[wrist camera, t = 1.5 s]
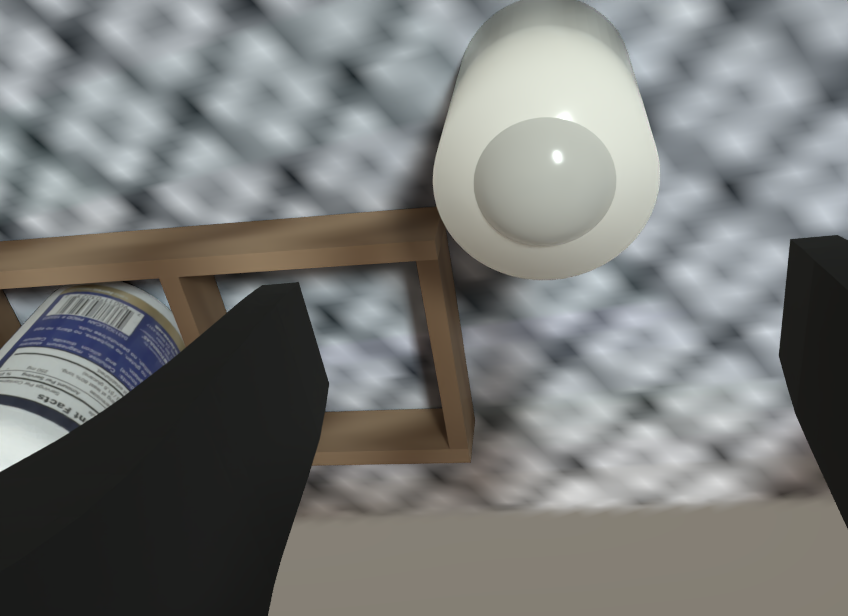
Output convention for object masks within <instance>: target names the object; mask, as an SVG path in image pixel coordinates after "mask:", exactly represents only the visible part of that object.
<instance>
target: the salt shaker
mask: <svg viewBox="0 0 848 616" xmlns="http://www.w3.org/2000/svg"><path fill="white" fill-rule="evenodd" d="M659 182H660V165H659V158H658V153H657V149H656V145H655V142H654V138H653V135H652V132H651V128H650V125H649V121H648V118H647V115H646V111H645V108H644V105H643V101H642V98H641V95H640V91H639V88H638V84H637V81H636V78H635V74H634V71H633V68H632V64H631V61H630V57H629V54H628V51H627V49H626V46H625V43H624V41H623V39H622V38H621V36H620V34H619V32H618V31H617V30H616V28H615V27H614V26H613V24H612V23H611V22H610V21H609V20H608V19H607V18H606V17H605V16H604V15H602V14H601V13H600V12H598V11H597V10H596V9H594V8H592V7H591V6H589V5H587V4H585V3H583V2H580V1H577V0H520V1H517V2H514V3H512V4H510V5H508V6H506V7H504V8H503V9H501V10H500V11H498V12H497V13H495V14H494V15H493V16H491V17H490V18H489V19H488V20H487V21H486V22H485V23H484V24H483V25H482V26H481V27H480V28H479V29H478V31H477V32H476V33H475V35H474V36H473V38H472V39H471V41H470V43H469V45H468V47H467V49H466V51H465V54H464V57H463V60H462V63H461V67H460V70H459V74H458V77H457V81H456V85H455V88H454V92H453V96H452V99H451V103H450V106H449V110H448V114H447V117H446V121H445V124H444V128H443V132H442V135H441V139H440V143H439V146H438V150H437V153H436V158H435V163H434V168H433V190H434V197H435V201H436V206H437V209H438V211H439V214H440V217H441V219H442V221H443V223H444V225H445V227H446V228H447V230H448V232H449V233H450V234H451V236H452V237H453V238H454V240H455V241H456V242H457V243H458V244H459V245H460V246H461V247H462V248H463V249H464V250H465V251H466V252H467V253H468V254H469V255H471V256H472V257H473V258H474V259H476V260H477V261H479V262H481V263H482V264H484V265H485V266H487V267H490V268H492V269H494V270H496V271H498V272H501V273H504V274H507V275H510V276H514V277H519V278H523V279H532V280H555V279H563V278H568V277H573V276H577V275H580V274H583V273H586V272H589V271H592V270H594V269H596V268H598V267H600V266H602V265H604V264H606V263H607V262H609V261H610V260H612V259H613V258H615V257H616V256H618V255H619V254H620V253H621V252H623V251H624V250H625V249H626V248H627V247H628V246H629V245H630V244H631V243H632V242H633V241H634V240H635V239H636V238H637V236H638V235H639V234H640V232H641V231H642V230H643V228H644V227H645V225H646V223H647V221H648V219H649V218H650V216H651V214H652V211H653V208H654V206H655V203H656V199H657V195H658V191H659Z"/></svg>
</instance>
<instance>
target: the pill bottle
mask: <svg viewBox="0 0 848 616" xmlns="http://www.w3.org/2000/svg"><path fill="white" fill-rule="evenodd" d="M185 348H186V347H185V344H184V341H183V339H182V336H181V334H180V331H179V329H178V326H177V323H176V321H175V318H174V316H173V313H172V311H171V310H170V309H169V308H167V307H166V306H165V305H164V304H163V303H162V302H160V301H159V300H158V299H156V298H155V297H153V296H152V295H150V294H149V293H147V292H145V291H143V290H141V289H139V288H137V287H135V286H132V285H129V284H127V283H124V282H120V281H112V282H98V283H83V284H68V285H64V286H63V287H61V288H59V289H58V290H56V291H55V292H54V293H53V294H51V295H50V296H49V297H48V298H47V299H46V300H45V301H44V302H43V304H42V305H41V306H39V307H38V308H37V309H36V311H35V312H34V313H33V314H32V315H31V316H30V317H29V318H28V319H27V320H26V322H25V323H24V324H23V325H22V326H21V327H20V328H19V329H18V330H17V331H16V333H15V334H14V335H13V336H12V337H11V338H10V339H9V340H8V341H7V342H6V343H5V345H4V346H3V347H2V348H1V349H0V472H1V471H2V470H4V469H6V468H8V467H10V466H11V465H13V464H15V463H17V462H19V461H21V460H22V459H24V458H26V457H28V456H30V455H31V454H33V453H35V452H37V451H39V450H40V449H42V448H44V447H46V446H48V445H49V444H51V443H53V442H55V441H56V440H58V439H60V438H61V437H63V436H65V435H66V434H68V433H69V432H71V431H72V430H74V429H76V428H77V427H79V426H80V425H82V424H83V423H85V422H86V421H88V420H90V419H91V418H93V417H94V416H96V415H97V414H99V413H100V412H102V411H103V410H105V409H106V408H108V407H109V406H110V405H112V404H113V403H115V402H116V401H118V400H119V399H120V398H122V397H123V396H125V395H126V394H127V393H129V392H130V391H131V390H132V389H134V388H135V387H136V386H138V385H139V384H140V383H141V382H143V381H144V380H145V379H147V378H148V377H149V376H151V375H152V374H153V373H154V372H156V371H157V370H158V369H160V368H161V367H162V366H163V365H165V364H166V363H167V362H169V361H170V360H171V359H172V358H174V357H175V356H176V355H177V354H179V353H180V352H181V351H182V350H183V349H185Z"/></svg>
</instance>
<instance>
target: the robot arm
mask: <svg viewBox="0 0 848 616" xmlns="http://www.w3.org/2000/svg"><path fill="white" fill-rule="evenodd" d="M779 358H780V362H781V365H782V369H783V373H784V376H785V380H786V384H787V387H788V391H789V394H790V397H791V401H792V404H793V407H794V410H795V414H796V416H797V419H798V421H799V423H800V425H801V428H802V430H803V432H804V434H805V437H806V439H807V441H808V443H809V446H810V448H811V450H812V452H813V454H814V457H815V459H816V461H817V463H818V465H819V468H820V470H821V472H822V474H823V476H824V478H825V481H826V483H827V485H828V487H829V489H830V491H831V494H832V496H833V498H834V500H835V502H836V505H837V507H838V509H839V511H840V513H841V515H842V517H843V520H844V522H845V524H846V526H847V528H848V240H846V239H844V238H842V237H840V236H838V235H834V236H822V237H811V238H799V239H790V248H789V258H788V268H787V278H786V289H785V299H784V309H783V319H782V329H781V339H780V349H779ZM328 388H329V382H328V378H327V375H326V372H325V368H324V365H323V362H322V358H321V355H320V352H319V348H318V345H317V342H316V338H315V335H314V332H313V328H312V325H311V322H310V318H309V315H308V312H307V308H306V305H305V302H304V298H303V295H302V292H301V288H300V285H299V282H296V283H285V284H273V285H262V286H261V287H259V288H258V289H256V290H255V291H253V292H252V293H251V294H249V295H248V296H247V297H245V298H244V299H243V300H242V301H240V302H239V303H238V304H237V305H236V306H234V307H233V308H232V309H231V310H230V311H228V312H227V313H226V314H225V315H224V316H222V317H221V318H220V319H219V320H218V321H217V322H215V323H214V324H213V325H212V326H211V327H210V328H208V329H207V330H206V331H205V332H204V333H202V334H201V335H200V336H199V337H198V338H196V339H195V340H194V341H193V342H192V343H191V344H189V345H188V346H187V347H186V348H185V349H183V350H182V351H181V352H180V353H179V354H177V355H176V356H175V357H174V358H172V359H171V360H170V361H169V362H167V363H166V364H165V365H163V366H162V367H161V368H160V369H158V370H157V371H156V372H154V373H153V374H152V375H151V376H149V377H148V378H147V379H145V380H144V381H143V382H141V383H140V384H139V385H138V386H136V387H135V388H134V389H132V390H131V391H130V392H129V393H127V394H126V395H125V396H123V397H122V398H120V399H119V400H118V401H116V402H115V403H113V404H112V405H110V406H109V407H108V408H106V409H105V410H103V411H102V412H100V413H99V414H97V415H96V416H94V417H93V418H91V419H90V420H88V421H86V422H85V423H83V424H82V425H80V426H79V427H77V428H76V429H74V430H72V431H71V432H69V433H68V434H66V435H65V436H63V437H61V438H60V439H58V440H56V441H55V442H53V443H51V444H49V445H48V446H46V447H44V448H42V449H40V450H39V451H37V452H35V453H33V454H31V455H30V456H28V457H26V458H24V459H22V460H21V461H19V462H17V463H15V464H13V465H11V466H10V467H8V468H6V469H4V470H2V471H1V472H0V616H268V611H269V607H270V602H271V597H272V593H273V587H274V584H275V580H276V576H277V572H278V569H279V565H280V562H281V558H282V555H283V552H284V549H285V546H286V543H287V540H288V536H289V533H290V531H291V528H292V525H293V522H294V518H295V515H296V512H297V509H298V506H299V503H300V500H301V497H302V494H303V491H304V488H305V485H306V482H307V479H308V476H309V472H310V469H311V466H312V463H313V460H314V457H315V453H316V450H317V447H318V444H319V440H320V436H321V431H322V425H323V420H324V414H325V408H326V401H327V395H328Z"/></svg>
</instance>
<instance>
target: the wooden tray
mask: <svg viewBox="0 0 848 616" xmlns="http://www.w3.org/2000/svg"><path fill="white" fill-rule="evenodd" d="M409 261H416V264H417V270H418V275H419V281H420V286H421V292H422V298H423V303H424V309H425V314H426V320H427V325H428V331H429V337H430V342H431V348H432V353H433V359H434V364H435V370H436V376H437V381H438V387H439V392H440V398H441V403H442V408H437V409H406V410H375V411H344V412H325V414H324V420H323V425H322V431H321V436H320V440H319V444H318V447H317V450H316V453H315V457H314V460H313V463H312V466H315V465H368V464H420V463H471V454H472V444H473V435H474V426H475V417H474V411H473V404H472V398H471V391H470V384H469V378H468V371H467V365H466V358H465V352H464V345H463V338H462V332H461V325H460V319H459V312H458V305H457V299H456V292H455V286H454V279H453V273H452V266H451V259H450V253H449V246H448V240H447V233H446V227H445V225H444V223H443V221H442V219H441V217H440V214H439V211H438V209H437V207H425V208H413V209H400V210H388V211H375V212H363V213H350V214H338V215H325V216H313V217H300V218H288V219H275V220H263V221H250V222H238V223H225V224H213V225H200V226H188V227H175V228H163V229H151V230H138V231H126V232H113V233H101V234H88V235H76V236H63V237H51V238H38V239H26V240H13V241H1V242H0V349H1V348H2V347H3V346H4V345H5V343H6V342H7V341H8V340H9V339H10V338H11V337H12V336H13V335H14V334H15V333H16V331H17V330H18V329H19V328H20V327H21V325H20V323H19V321H18V319H17V317H16V315H15V313H14V312H13V310H12V308H11V306H10V304H9V302H8V300H7V298H6V296H5V294H4V292H3V290H2V289H9V288H24V287H38V286H53V285H68V284H83V283H98V282H112V281H127V280H142V279H157V278H159V280H160V282H161V285H162V287H163V290H164V293H165V295H166V298H167V300H168V303H169V305H170V308H171V311H172V313H173V316H174V318H175V321H176V323H177V326H178V329H179V331H180V334H181V336H182V339H183V341H184V344H185V347H187V346H188V345H189V344H191V343H192V342H193V341H194V340H195V339H196V338H198V337H199V336H200V335H201V334H202V333H204V332H205V331H206V330H207V329H208V328H210V327H211V326H212V325H213V324H214V323H215V322H217V321H218V320H219V319H220V318H221V317H222V316H224V315H225V314H226V310H225V307H224V304H223V301H222V298H221V295H220V292H219V289H218V286H217V283H216V281H215V278H214V275H216V274H231V273H246V272H261V271H275V270H290V269H305V268H320V267H335V266H349V265H364V264H379V263H394V262H409Z"/></svg>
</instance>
